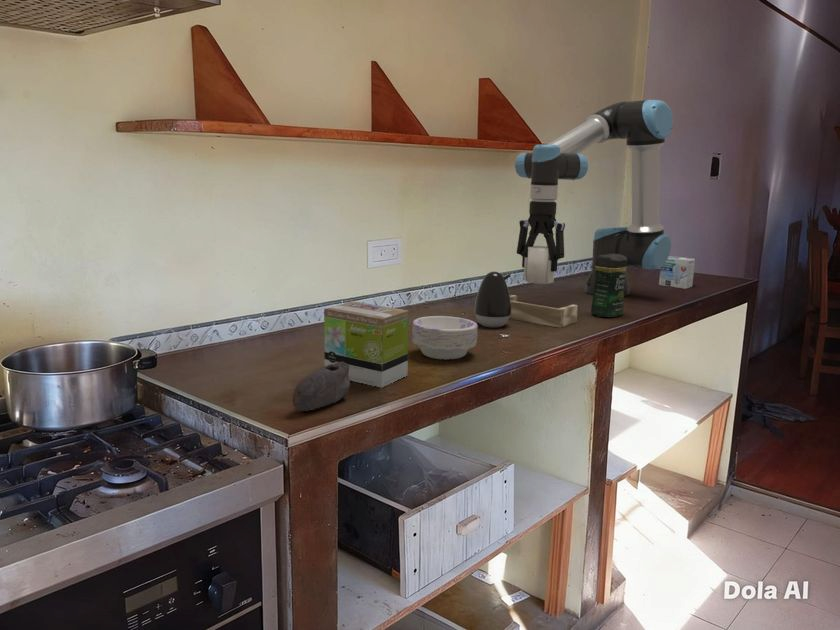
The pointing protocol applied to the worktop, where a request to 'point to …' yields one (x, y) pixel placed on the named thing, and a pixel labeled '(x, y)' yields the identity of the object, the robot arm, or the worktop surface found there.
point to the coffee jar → (609, 285)
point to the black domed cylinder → (493, 301)
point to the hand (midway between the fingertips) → (538, 280)
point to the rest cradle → (543, 313)
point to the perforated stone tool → (322, 387)
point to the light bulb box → (677, 272)
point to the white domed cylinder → (537, 264)
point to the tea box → (367, 341)
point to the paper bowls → (444, 336)
